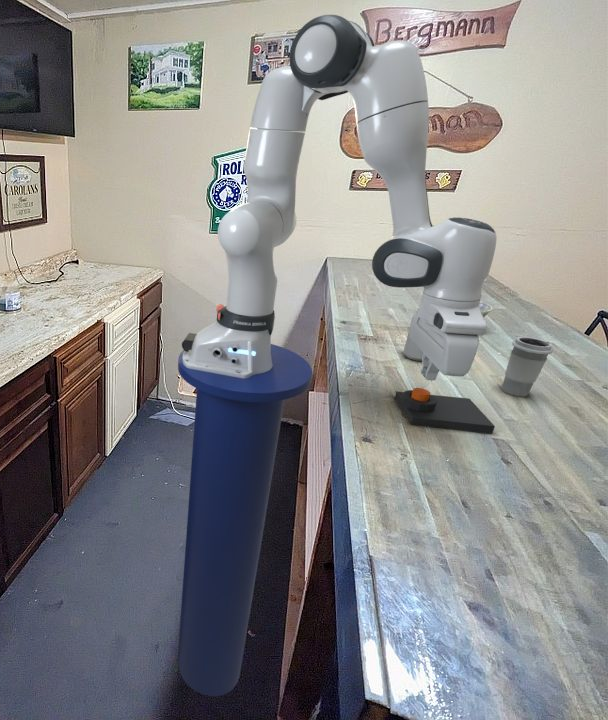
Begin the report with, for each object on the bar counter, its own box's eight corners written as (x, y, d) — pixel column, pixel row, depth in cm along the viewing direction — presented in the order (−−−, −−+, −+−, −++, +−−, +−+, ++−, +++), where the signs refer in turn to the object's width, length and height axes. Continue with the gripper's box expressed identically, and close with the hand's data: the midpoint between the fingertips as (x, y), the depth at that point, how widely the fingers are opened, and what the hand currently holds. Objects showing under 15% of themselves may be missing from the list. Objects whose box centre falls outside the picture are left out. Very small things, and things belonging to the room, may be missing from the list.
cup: (541, 400, 98) (563, 349, 93) (506, 397, 99) (526, 346, 94) (521, 385, 104) (541, 336, 99) (489, 383, 105) (507, 334, 101)
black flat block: (408, 424, 89) (412, 408, 88) (392, 397, 99) (395, 383, 98) (492, 433, 86) (498, 417, 85) (467, 405, 96) (472, 390, 95)
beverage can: (431, 364, 115) (444, 319, 110) (402, 358, 118) (414, 314, 113) (430, 355, 120) (443, 311, 115) (402, 350, 123) (414, 308, 118)
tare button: (413, 401, 91) (415, 393, 90) (408, 394, 94) (411, 386, 93) (430, 403, 91) (432, 395, 90) (425, 396, 93) (427, 388, 92)
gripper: (410, 294, 94) (394, 355, 100) (449, 326, 76) (428, 399, 82) (444, 296, 93) (426, 358, 99) (492, 329, 75) (467, 403, 80)
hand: (427, 377), depth 90 cm, fingers closed
